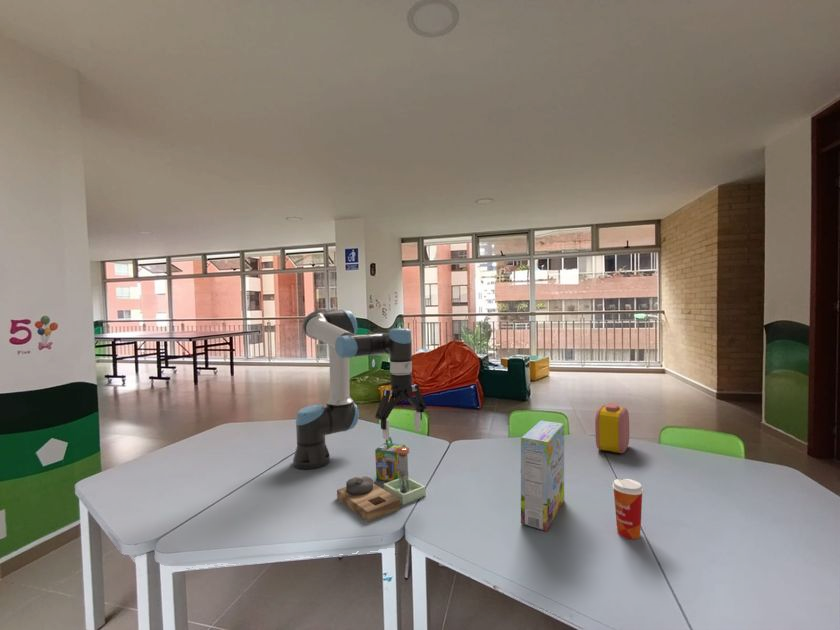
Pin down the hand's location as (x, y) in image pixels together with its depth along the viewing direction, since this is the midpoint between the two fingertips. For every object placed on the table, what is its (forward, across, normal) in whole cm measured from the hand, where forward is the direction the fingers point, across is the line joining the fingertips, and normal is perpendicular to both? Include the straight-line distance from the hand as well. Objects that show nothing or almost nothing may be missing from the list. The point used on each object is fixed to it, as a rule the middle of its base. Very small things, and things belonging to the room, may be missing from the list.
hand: (402, 434), depth 136 cm
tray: (+21, 0, -1) cm, 21 cm away
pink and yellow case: (+20, +94, -29) cm, 100 cm away
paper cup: (+20, +32, -62) cm, 72 cm away
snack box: (+20, +25, -40) cm, 51 cm away
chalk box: (+21, +5, +14) cm, 26 cm away
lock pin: (+20, 0, -1) cm, 20 cm away
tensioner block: (+21, -13, +2) cm, 25 cm away
